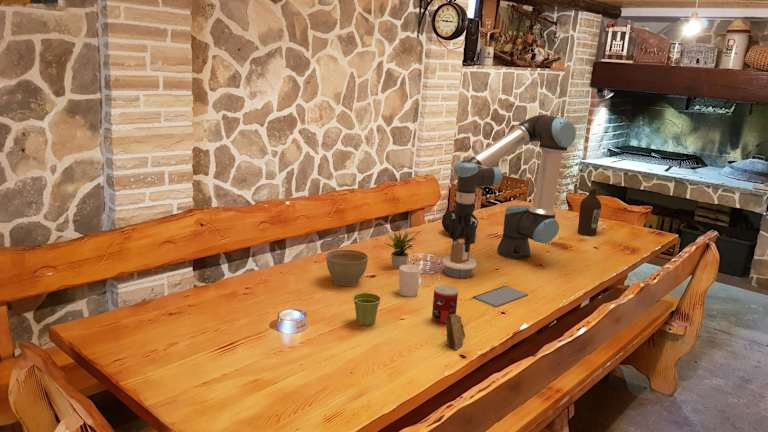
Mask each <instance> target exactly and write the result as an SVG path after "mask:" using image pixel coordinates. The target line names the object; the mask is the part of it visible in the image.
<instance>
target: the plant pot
mask: <svg viewBox="0 0 768 432" xmlns="http://www.w3.org/2000/svg"><path fill="white" fill-rule="evenodd" d="M352 300H353V304H354V308H355V318H356V323H357V324H358V325H360V326H365V327H366V326H367V327H368V326H373V325H375V324H376V319H377V315H378V314H377V313H378V310H379V309H378V308H379V305H380V302H381V300H382V297H381V296H380V295H378V294H377V293H376V294H375V293H371V292H358V293H356V294H354V295H353V296H352Z"/></svg>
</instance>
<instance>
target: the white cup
mask: <svg viewBox="0 0 768 432" xmlns="http://www.w3.org/2000/svg"><path fill="white" fill-rule="evenodd" d="M398 269H399V271H398V272H399V273H398V287H399V288H398V292H399V294H400V295H401V296H404V297H409V298H411V297H415V296H417V295H418V290H419V285H420V276H421V270H422V268H421V267H420V266H418V265H414V264H406V265H402V266H400V267H399V268H398Z"/></svg>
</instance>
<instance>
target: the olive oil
mask: <svg viewBox="0 0 768 432" xmlns="http://www.w3.org/2000/svg"><path fill="white" fill-rule="evenodd" d="M588 192H589V193H588V195H586V196H585V197H584V198H583V199H582V200H581V201H580V204H579V213H578V225H577V234H579V235H580V236H584V237H595V236H596V235H597V231H598V228H599V220H600V215H601V210H602V202H601V200H600V199H599V198H598V196H597V187H595V186H594V187H593V186H591V187H590V188H589V191H588Z"/></svg>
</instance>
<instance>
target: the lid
mask: <svg viewBox="0 0 768 432" xmlns="http://www.w3.org/2000/svg"><path fill="white" fill-rule="evenodd" d="M464 243H465V241H462V242H460V243H457V244H453V243H452V244H451V249H450V255H447V256H444V257H442V260H441V261H442V262H441V263H442V265H443V266H444V267H445V266H447V267H449V268H453V269H460V270H468V269H473V270H474V269H475V268H476V267H477V263H478V262H477V260H476V259H474V258H472V257H470V255H471V254H470V253H471V248H470V249H469V252H468V256H467V259H465V260H462V249H463V244H464Z"/></svg>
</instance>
